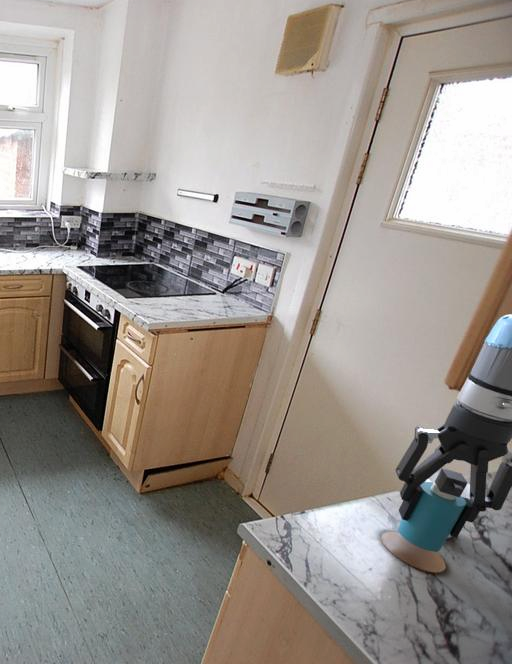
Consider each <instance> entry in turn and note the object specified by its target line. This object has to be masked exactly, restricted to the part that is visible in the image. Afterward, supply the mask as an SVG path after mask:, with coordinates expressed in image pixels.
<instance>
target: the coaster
mask: <svg viewBox="0 0 512 664" xmlns="http://www.w3.org/2000/svg"><path fill="white" fill-rule="evenodd" d="M381 542H382V544H383V545H384V547H385V548H386V549H387V551H389V552H390V553H391V554H392V555H393V556H395V557H396V558H397V559H398V560H400V561H402V562H403V563H405V564H406V565H409V566H410V567H413V568H415V569H417V570H421V571H423V572H427V573H433V574H440V573H443V572H444V571H445V570H446V567H447V566H446V562H445V560H444V559H443V558H442V556H441V555H440V554H439V553H438V551H437V552H433V551H428V550H424V549H422V548H419V547H417V546H415V545H413V544H412V543H410V542H409V541H407V540H406V539H405V538H404V537H402V536H401V534H400V533H399V531H385V532H383V533H382V535H381Z"/></svg>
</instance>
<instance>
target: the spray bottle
mask: <svg viewBox="0 0 512 664" xmlns="http://www.w3.org/2000/svg"><path fill="white" fill-rule="evenodd" d="M438 472H439V474H438V476H437V478H436V480H435V482H434V483H432V482H424V483H423V484H421V485H420V487H421V489H422V491H423V492H422V494H421V496H420V498H419V500H418V502H417V504H416V505H415V507H414V509H413V511H412V513H411V515H410V517H409V519H408V521H406V520H403V519H402V518H401V521H400V523H399V525H398V526H397V532H399V533H400V534H401V536H402V537H404V538H405V539H406V540H407V541H409V542H410V543H412V544H413V545H415V546H417V547H419V548H422V549H424V550H428V551H433V552H437V553H438V552H440V551H441V550H442V548H443V547H444V545H445V543H446V541H447V539H448V538H447V537H448V536H449V534H450V532H451V530H452V529H453V527H454V525H455V523H456V522H457V520H458V518H459V516H460V515H461V513H462V511H463V509H464V507H465V506H466V501H465V499H464V498H463V497H462V496H461V494H462V492H463V491H464V489H465V487H466V485H467V483H468V481H467V480H466V478H465V476H464V475H463V474H462V472H457V471H454V470H450V469H449V468H448V469H447V468H445V467H442V468H441V469H440V471H438Z"/></svg>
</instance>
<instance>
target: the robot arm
mask: <svg viewBox="0 0 512 664" xmlns="http://www.w3.org/2000/svg"><path fill="white" fill-rule="evenodd" d="M456 397H457V400H458V401H456V402H454V403H453V405H452V407H451V409H450V411H449V414H447V417H446V418H445V421H444V424H443V425H441V426H440V427H438V428H437V429H425V428H424V427H423V426H421V425H420V426H416V427H415V428H414V438H413V439H412V441H411V443H410V445H409V446H408V448H407V450H406V451H405V453H404V454H403V456H402V458H401V460H400V461H399V463H398V464H397V466H396V468H395V470H394V471H395V473H396V475H397V478H398V480H400V481H402V482H404V484H403V486H402V487H401V490H400V491H399V495H400V498H401V501H402V502H401V504H400V506H399V508H398V513H399V515H400V518H401V520H402V519H403V520H406V521H408V519H409V517H410V515H411V513H412V511H413V509H414V507H415V505H416V504H417V502H418V500H419V498H420V496H421V494H422V492H423V491H422V489H421V487H420V485H421V484H423V483H424V482H425V481H426V480H427V479H429V478H430V477H431V476H432V475H433V474H435V473H436V472H437V471H438V472H439V470H441V469H442V468H444V466H446V465H447V464H450V463H451V464H452V462H453V461H454V460H455V461H460V462H461V461H462V462H465V463H468V464H469V465H470V472H469V473H470V474H469V484H470V500H469V499H468V498H465V497H463V498H464V499H465V501H466V506H465V507H464V509H463V511H462V513H461V515H460V516H459V518H458V520H457V522H456V523H455V525H454V527H453V529H452V530H451V532H450V535H451V536H452V537H453V538H455V539H458V537H459V535H460V533H461V532H462V531H463V528H464V526H465V525H466V523H468V522H469V523H473V522H475V521H476V519H477V517H478V516H479V514H480V513H482V512H483V513H484V512H486V511H487V510H488V509H492V510H494V511H500V510H501V509H502V508H503V506H504V503H505V501H506V500H507V497H508V495H509V493H510V491H511V489H512V451H511V450H509V448H508V445H509V443H510V442H511V441H512V314H505V315H503V316H501V317H500V318H499V319H498V320H497V321H496V323H495V324H494V325H493V327H492V329H491V330H490V332H489V333H488V336H486V338H485V339H484V344H483V346H482V347H481V350H480V351H479V354H478V356H477V358H476V359H475V363H474V365H473V367H472V369H471V371H470V373H469V374H468V376H467V377H466V380H465V382H464V384H463V385H462V387H461V389H460V391H459V393H458V395H457V396H456ZM435 439H438V441H439V443H440V444H439V445H438V446H437V447H436V448H435V449H434V451H433V452H432V453H431V454H430V455H429V456H427V458H426V459H425V460H423V461H422V462H420V460H421V458H422V457H423V455H424V453H425V452H426V450H427V449H428V444H432V443H433V441H434V440H435ZM500 458H501V463H500V464H499V467H498V468H497V470H496V473H495V474H494V476H493V477H494V478H493V480H492V482H491V484H490V486H489V487H488V488H489V489H488V491H487V474H488V472H489V462H492V461H494V460H497V459H500ZM419 462H420V463H419ZM418 463H419V465H418ZM416 466H417V467H416ZM486 492H487V493H486ZM452 537H451V538H452Z"/></svg>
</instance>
